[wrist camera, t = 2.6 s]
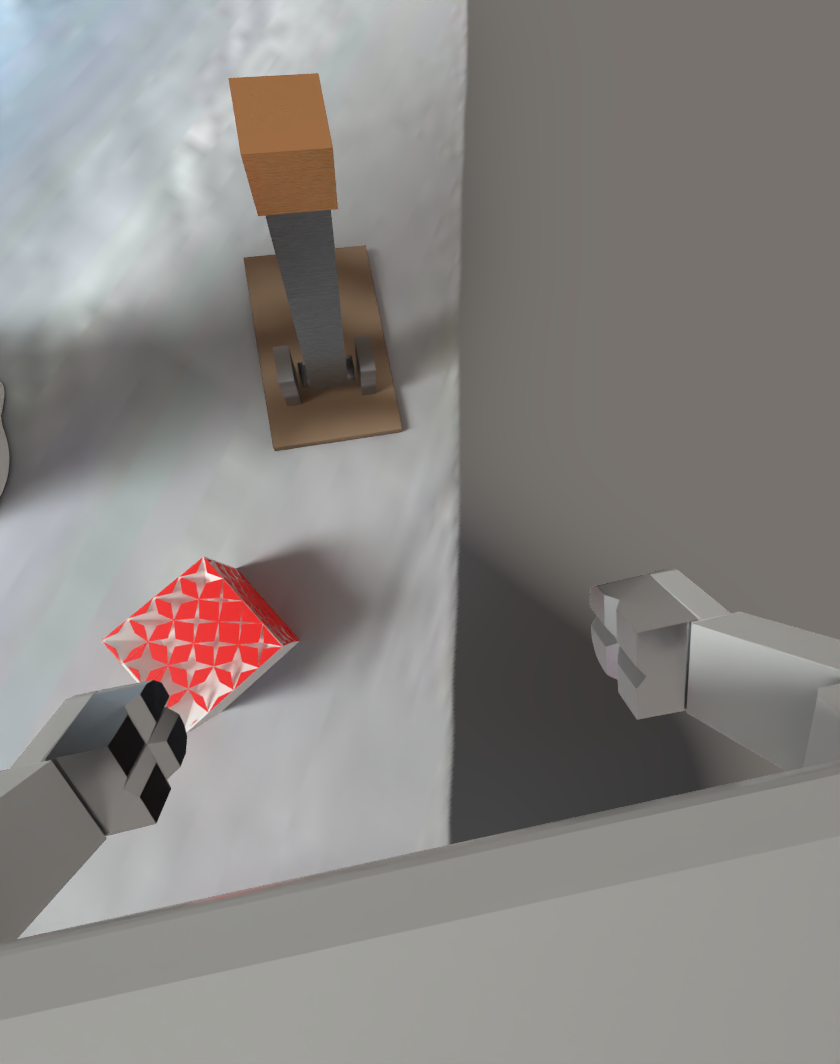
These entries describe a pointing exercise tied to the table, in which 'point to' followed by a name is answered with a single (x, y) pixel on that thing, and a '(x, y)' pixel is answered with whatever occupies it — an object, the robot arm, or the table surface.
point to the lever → (297, 209)
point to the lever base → (290, 405)
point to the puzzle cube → (202, 640)
